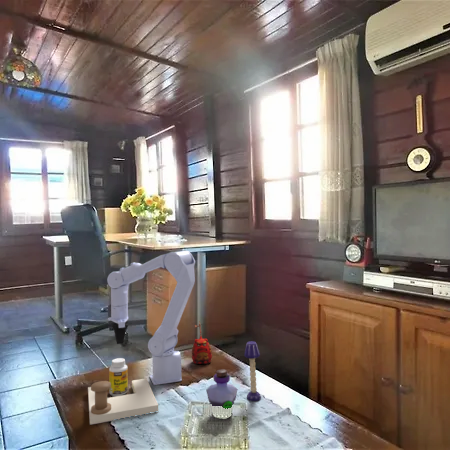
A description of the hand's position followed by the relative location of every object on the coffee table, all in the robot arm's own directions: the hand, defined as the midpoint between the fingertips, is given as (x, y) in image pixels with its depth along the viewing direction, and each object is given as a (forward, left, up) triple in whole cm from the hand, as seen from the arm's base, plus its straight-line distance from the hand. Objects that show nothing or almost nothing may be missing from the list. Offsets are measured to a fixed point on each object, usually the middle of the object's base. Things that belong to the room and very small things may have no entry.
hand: (119, 343), depth 136 cm
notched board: (+2, +24, -10) cm, 26 cm away
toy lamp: (-35, +36, -11) cm, 51 cm away
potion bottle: (-23, +42, -11) cm, 49 cm away
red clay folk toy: (-30, +1, -11) cm, 32 cm away
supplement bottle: (+2, +17, -11) cm, 20 cm away
